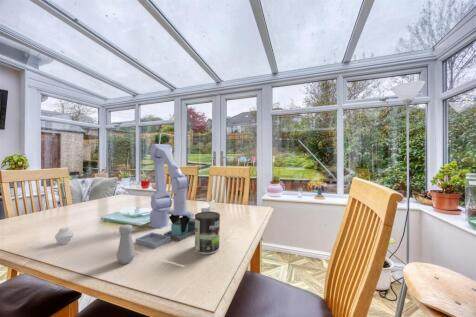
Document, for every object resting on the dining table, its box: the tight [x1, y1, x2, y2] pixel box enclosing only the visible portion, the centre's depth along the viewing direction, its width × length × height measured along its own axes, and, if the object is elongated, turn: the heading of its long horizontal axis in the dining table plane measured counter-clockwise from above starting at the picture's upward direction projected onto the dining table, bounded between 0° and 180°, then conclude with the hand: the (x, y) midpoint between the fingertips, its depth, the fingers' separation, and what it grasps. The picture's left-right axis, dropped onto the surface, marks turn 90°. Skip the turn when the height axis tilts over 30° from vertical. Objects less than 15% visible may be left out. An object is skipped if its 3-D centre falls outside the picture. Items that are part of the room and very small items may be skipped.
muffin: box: [54, 226, 74, 246], centre depth 89 cm, size 6×6×7 cm
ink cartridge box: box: [200, 198, 216, 212], centre depth 109 cm, size 9×5×15 cm, turn 168°
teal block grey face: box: [170, 220, 188, 237], centre depth 99 cm, size 4×7×6 cm, turn 154°
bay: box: [163, 216, 195, 242], centre depth 100 cm, size 12×15×6 cm
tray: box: [135, 232, 172, 249], centre depth 91 cm, size 12×9×2 cm
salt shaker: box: [116, 224, 136, 265], centre depth 75 cm, size 6×6×13 cm
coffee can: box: [194, 211, 221, 255], centre depth 86 cm, size 10×10×14 cm
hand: (179, 230), depth 99 cm, fingers closed on teal block grey face, 4 cm apart
